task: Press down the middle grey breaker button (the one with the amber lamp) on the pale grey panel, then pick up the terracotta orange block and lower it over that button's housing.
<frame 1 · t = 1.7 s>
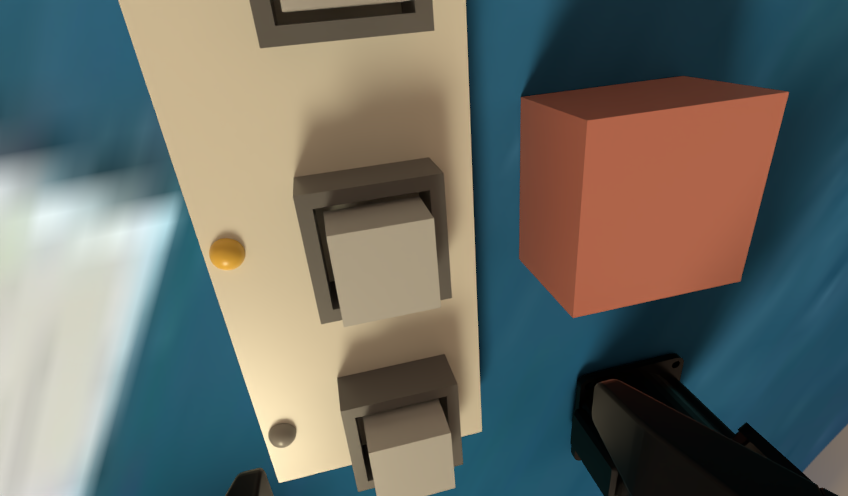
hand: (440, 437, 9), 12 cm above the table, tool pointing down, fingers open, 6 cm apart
breaker middle: (382, 259, 15), point 5 cm above the table, slide at 0.0 cm
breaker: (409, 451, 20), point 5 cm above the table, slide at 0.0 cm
breaker panel: (341, 213, 19), on the table
terracotta orange block: (597, 172, 21), on the table
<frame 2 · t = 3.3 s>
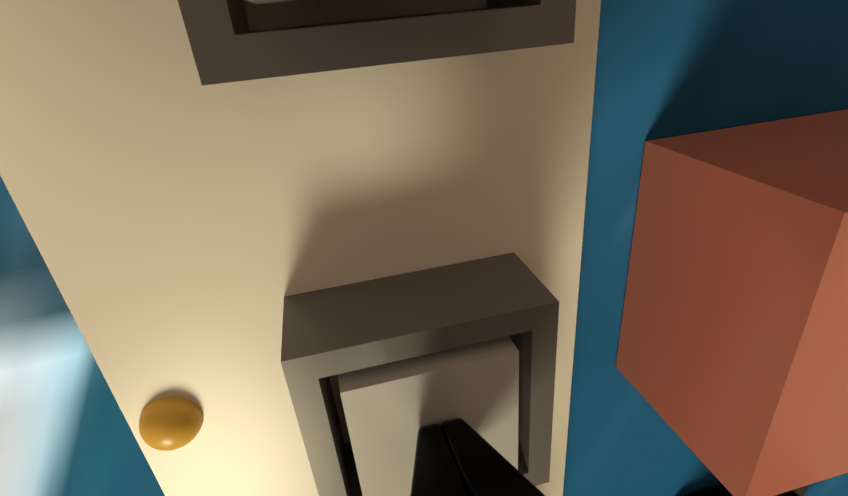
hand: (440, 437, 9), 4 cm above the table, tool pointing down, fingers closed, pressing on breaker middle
breaker middle: (426, 399, 10), point 3 cm above the table, slide at 1.5 cm, touching gripper
breaker panel: (360, 323, 12), on the table
terracotta orange block: (738, 245, 14), on the table
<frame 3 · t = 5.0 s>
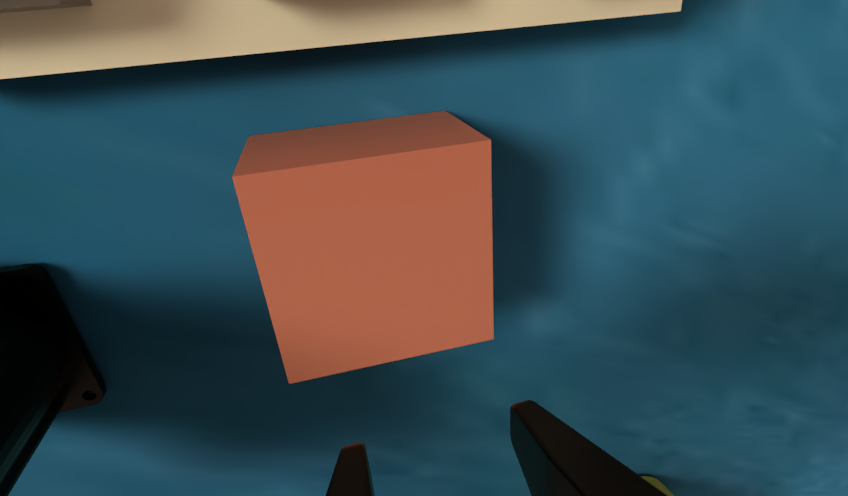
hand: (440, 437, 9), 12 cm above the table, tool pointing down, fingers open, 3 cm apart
terracotta orange block: (364, 213, 19), on the table
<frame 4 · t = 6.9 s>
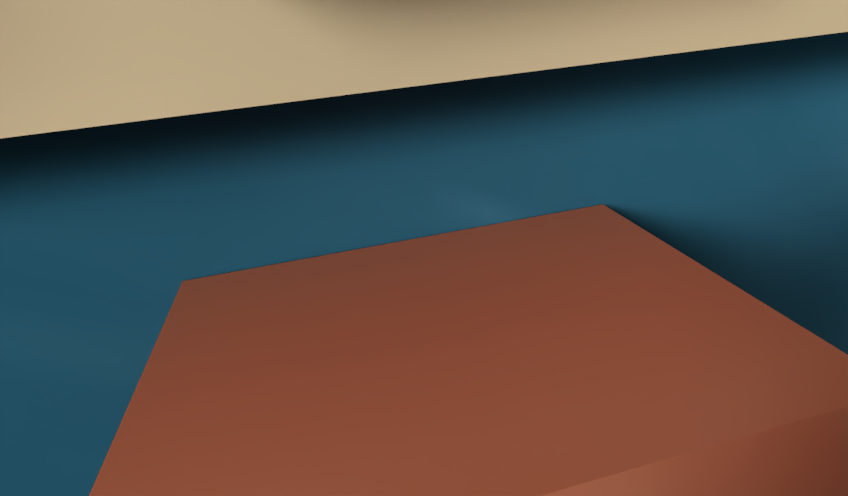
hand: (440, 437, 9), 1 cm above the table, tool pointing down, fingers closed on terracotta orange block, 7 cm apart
terracotta orange block: (426, 398, 10), on the table, touching gripper
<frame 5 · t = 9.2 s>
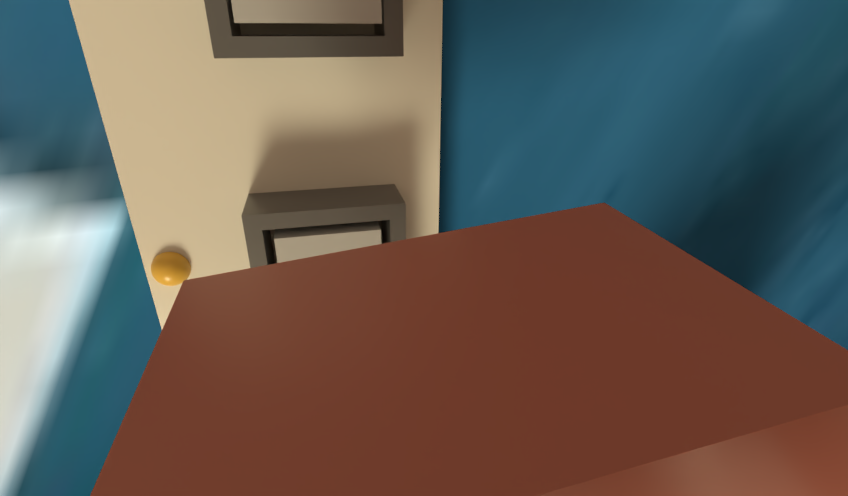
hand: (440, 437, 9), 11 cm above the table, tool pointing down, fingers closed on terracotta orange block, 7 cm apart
breaker middle: (331, 265, 16), point 3 cm above the table, slide at 1.6 cm
breaker panel: (300, 233, 18), on the table
terracotta orange block: (428, 397, 10), point 10 cm above the table, touching gripper
when the fingers open (4 cm above the table, at t = 11.3 s): terracotta orange block stays where it is, resting on breaker panel.
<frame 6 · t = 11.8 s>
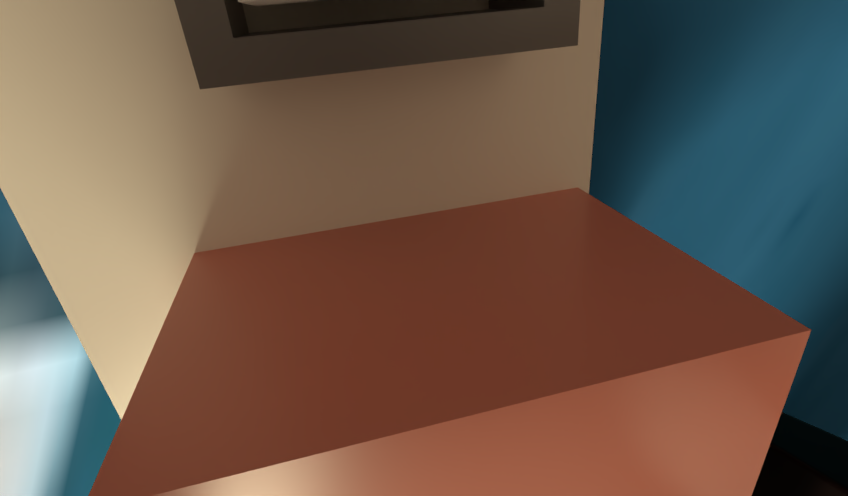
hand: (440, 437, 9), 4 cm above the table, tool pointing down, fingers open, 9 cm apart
breaker panel: (361, 327, 12), on the table
terracotta orange block: (416, 368, 11), point 2 cm above the table, touching breaker panel
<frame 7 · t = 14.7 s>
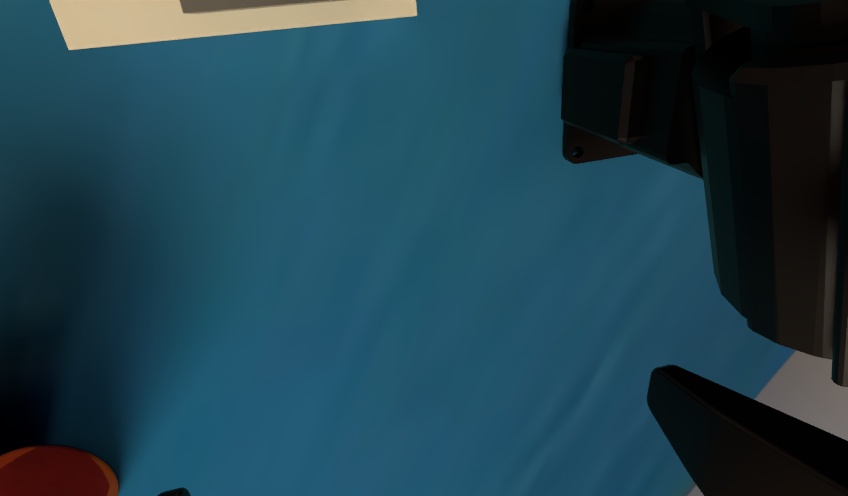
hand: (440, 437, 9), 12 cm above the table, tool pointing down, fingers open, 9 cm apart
paper cup: (53, 486, 22), on the table
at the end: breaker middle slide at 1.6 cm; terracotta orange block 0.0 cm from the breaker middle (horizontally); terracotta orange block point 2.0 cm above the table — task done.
